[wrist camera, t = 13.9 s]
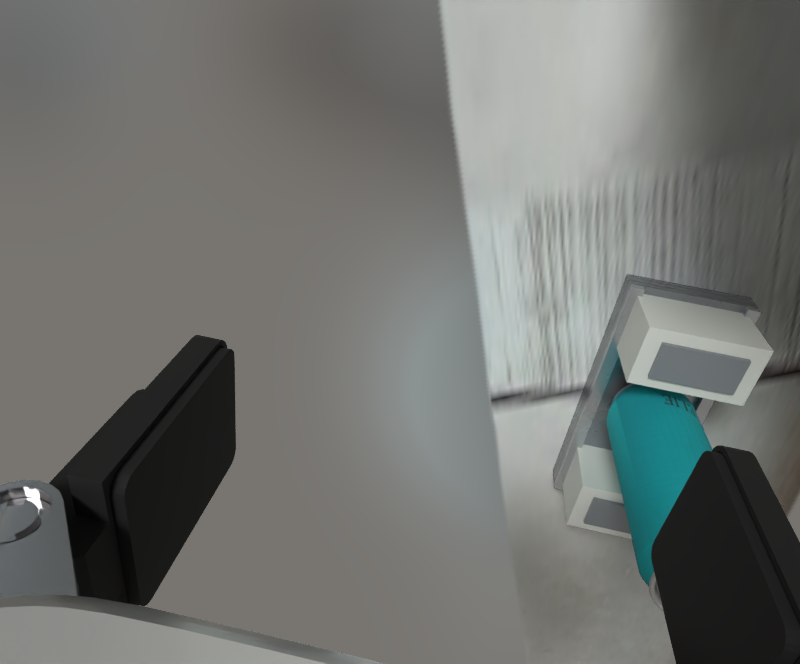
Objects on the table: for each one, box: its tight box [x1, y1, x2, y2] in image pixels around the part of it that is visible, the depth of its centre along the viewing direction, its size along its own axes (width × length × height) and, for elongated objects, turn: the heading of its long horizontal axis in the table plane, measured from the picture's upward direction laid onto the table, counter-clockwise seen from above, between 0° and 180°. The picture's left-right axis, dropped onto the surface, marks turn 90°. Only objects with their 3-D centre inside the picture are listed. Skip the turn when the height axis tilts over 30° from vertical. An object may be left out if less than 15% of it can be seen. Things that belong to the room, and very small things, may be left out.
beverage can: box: [607, 383, 712, 611], centre depth 35 cm, size 6×6×15 cm
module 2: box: [617, 294, 774, 406], centre depth 36 cm, size 4×7×5 cm, turn 82°
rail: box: [553, 274, 762, 490], centre depth 42 cm, size 18×8×2 cm, turn 172°
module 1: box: [563, 444, 632, 539], centre depth 43 cm, size 4×7×5 cm, turn 82°
